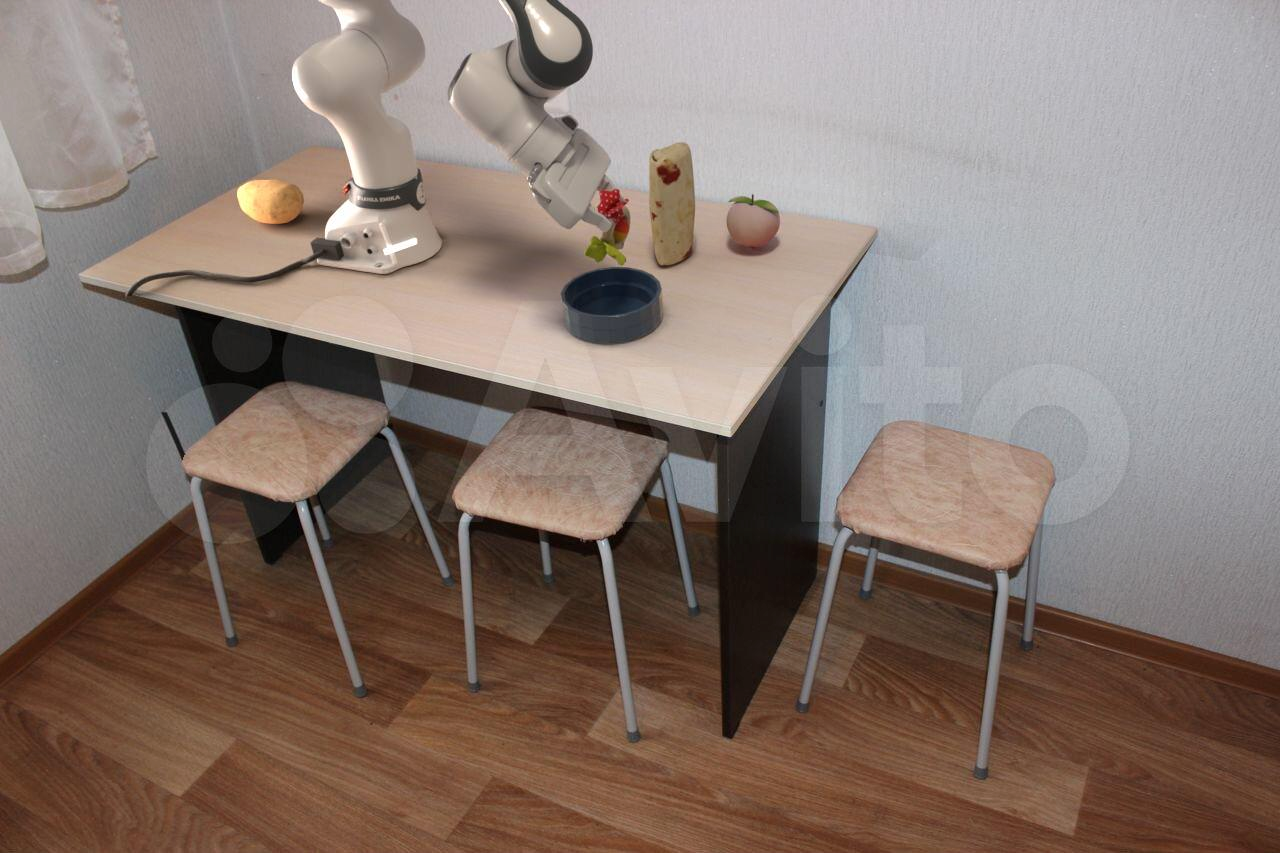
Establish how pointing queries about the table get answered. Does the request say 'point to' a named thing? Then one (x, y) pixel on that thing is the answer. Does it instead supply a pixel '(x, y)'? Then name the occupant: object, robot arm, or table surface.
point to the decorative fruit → (752, 221)
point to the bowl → (612, 304)
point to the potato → (270, 201)
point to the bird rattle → (616, 233)
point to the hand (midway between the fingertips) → (615, 215)
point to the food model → (672, 202)
